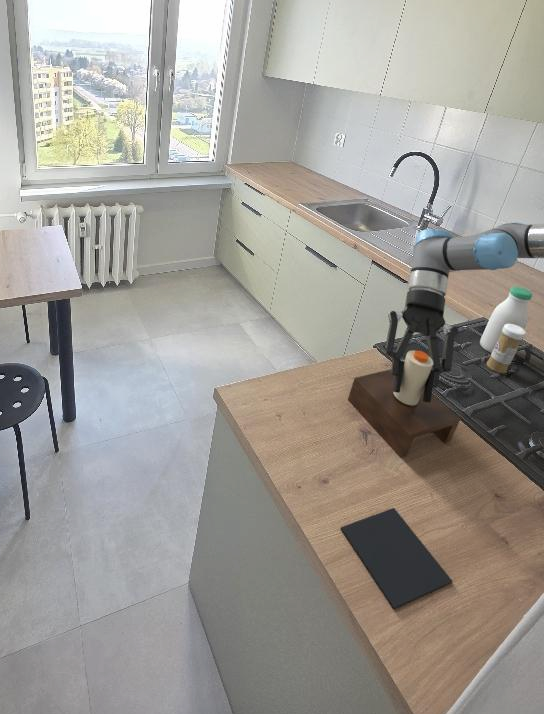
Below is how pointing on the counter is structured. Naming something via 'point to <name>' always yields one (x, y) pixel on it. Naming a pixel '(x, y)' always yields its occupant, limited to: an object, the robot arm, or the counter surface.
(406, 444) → the shelf
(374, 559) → the mat
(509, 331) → the sprinkles bottle
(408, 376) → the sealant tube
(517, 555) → the counter surface
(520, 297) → the milk bottle
